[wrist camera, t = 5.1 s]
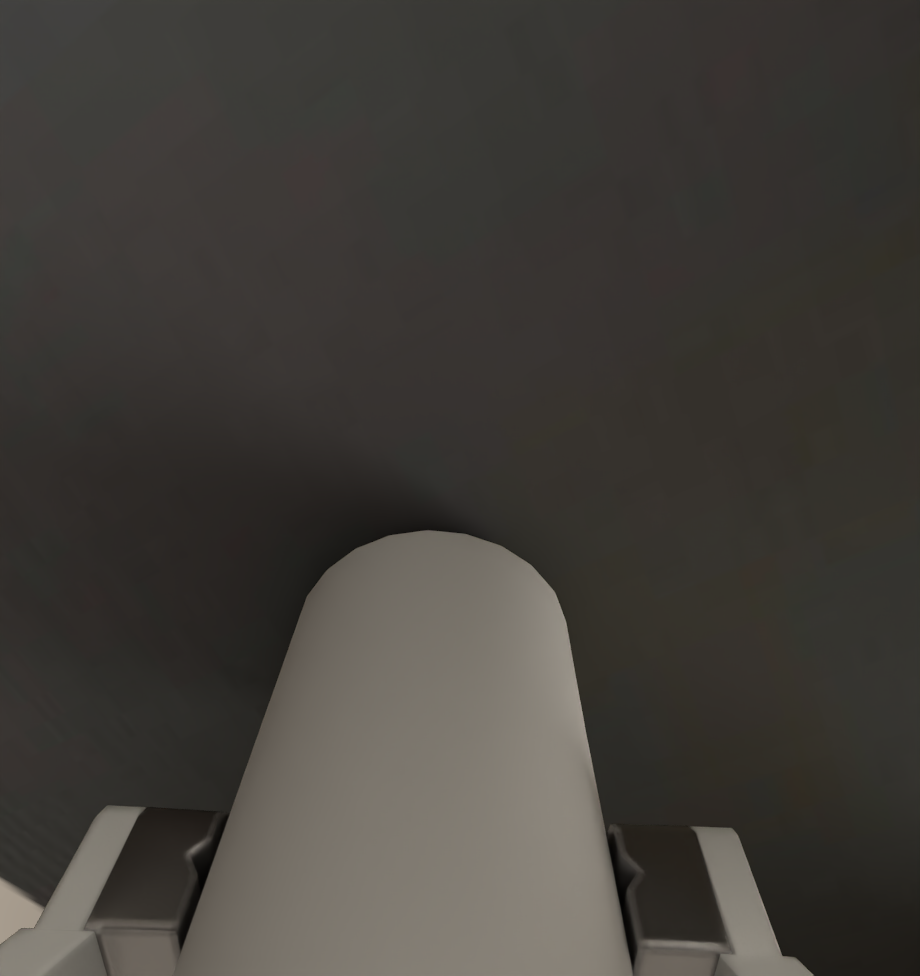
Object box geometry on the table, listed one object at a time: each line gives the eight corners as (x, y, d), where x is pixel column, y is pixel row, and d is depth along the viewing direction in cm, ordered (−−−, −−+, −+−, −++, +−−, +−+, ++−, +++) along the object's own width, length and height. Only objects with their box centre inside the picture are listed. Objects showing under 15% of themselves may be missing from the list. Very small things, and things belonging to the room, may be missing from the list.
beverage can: (480, 463, 12) (502, 2765, 2) (615, 666, 14) (1056, 2425, 3) (249, 593, 14) (-621, 2409, 3) (399, 765, 15) (216, 2293, 5)
